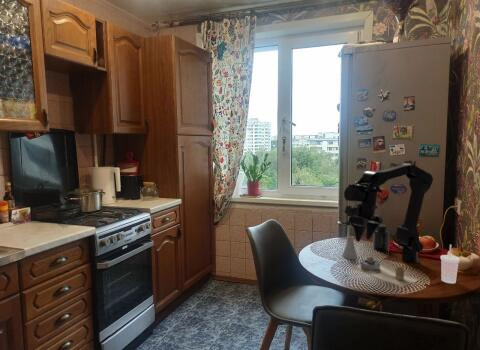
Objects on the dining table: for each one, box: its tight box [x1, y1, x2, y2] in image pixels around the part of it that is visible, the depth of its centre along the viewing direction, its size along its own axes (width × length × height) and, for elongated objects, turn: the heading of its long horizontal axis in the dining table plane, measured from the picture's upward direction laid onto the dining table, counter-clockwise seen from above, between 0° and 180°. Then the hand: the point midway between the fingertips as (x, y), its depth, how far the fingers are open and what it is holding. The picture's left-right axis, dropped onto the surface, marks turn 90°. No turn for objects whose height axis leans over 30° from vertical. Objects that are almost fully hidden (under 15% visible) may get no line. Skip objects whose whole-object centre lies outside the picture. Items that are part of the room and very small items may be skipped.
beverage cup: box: [439, 244, 461, 284], centre depth 125 cm, size 6×6×14 cm
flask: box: [341, 235, 358, 260], centre depth 149 cm, size 7×7×10 cm
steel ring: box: [359, 258, 381, 271], centre depth 136 cm, size 7×7×2 cm
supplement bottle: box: [372, 223, 390, 253], centre depth 160 cm, size 7×7×12 cm
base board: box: [350, 255, 421, 288], centre depth 130 cm, size 12×22×6 cm, turn 32°
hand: (363, 240), depth 136 cm, fingers open, 9 cm apart
